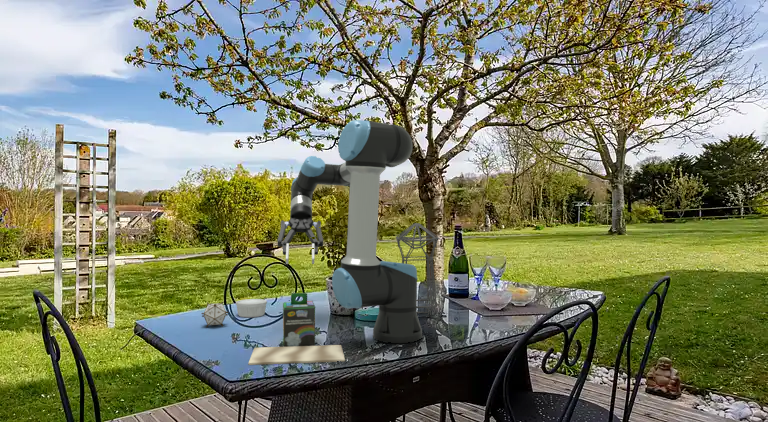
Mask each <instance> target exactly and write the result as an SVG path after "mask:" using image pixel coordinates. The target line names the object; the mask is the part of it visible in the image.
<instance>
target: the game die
mask: <svg viewBox="0 0 768 422" xmlns="http://www.w3.org/2000/svg"><path fill="white" fill-rule="evenodd" d="M206 304H207V305H206V308H205V310H204V312H201V317H202V318H203V317H204V319H205V323H206V326H205V327H206V328H208V327H209V326H221V327H224V325H223V322H224V320H225V318H226V316H227V317H228V315H229V311H227V310H226V309H225V307H224V301H222V302H221V303H209V301H207V302H206Z"/></svg>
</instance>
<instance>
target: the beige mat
mask: <svg viewBox="0 0 768 422" xmlns="http://www.w3.org/2000/svg"><path fill="white" fill-rule="evenodd" d="M248 360H249V361H248V366H254V365H255V366H257V365H259V366H260V365H281V364H283V365H284V364H306V363H307V364H309V363H311V364H313V363H333V362H335V363H338V362H337V361H341V362H345V361H346V359H345V355H344V351H343V346H342V345H341V344H333V345H332V344H330V345H329V344H327V345H326V344H325V345H323V344H322V345H315V346H291V347H284V346H271V347H270V346H263V347H254V348H253V350H252V353H251V355H250V358H249V359H248Z"/></svg>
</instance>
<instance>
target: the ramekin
mask: <svg viewBox="0 0 768 422" xmlns="http://www.w3.org/2000/svg"><path fill="white" fill-rule="evenodd" d="M267 303H268V301H267V300H266V299H262V298H249V299H247V298H246V299H241V300H240V299H239V300H237V301H236V302H235V305H236V311H237V315H238V316H239V317H240V318H257V317H262V316H264V315H265V314H266V309H267Z"/></svg>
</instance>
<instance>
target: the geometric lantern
mask: <svg viewBox="0 0 768 422" xmlns="http://www.w3.org/2000/svg"><path fill="white" fill-rule="evenodd" d="M413 229H414V231H413V235H412V237H411V236H410V237H408V236H407V235H408V234H409V233H410V231H412V230H413ZM421 230H423V232H425V233H426V234H427V235H423V236H422V234H421ZM416 233H418V237H416ZM423 238H425V239H423ZM395 239H396V242H397V247H398V249H399V252H400V254H401V263H404V264H408V261H426V277H427V278H426V280H427V281H426V284H427V286H426V288H427V290H426V291H427V292H426V296H427V297H426V299H425V298H424V299H423V298H422V299H421V298H420V299H417V302H426V303H425V305H421V306H419V305H417V309H423V311H417V314H426V313H428V314H427V316H428V315H429V314H430V315H431V316H432V311H433V310H434V309H435V308H436V307H437V306H438V304H437V291H436V281H435V280H436V279H435V269H434V254H435V248H437V244H438V241H439V240H440V239H441V237H439V236H438V235H436V234H435V233H434V232H432V231H430V229H428V228H427V227H425V226H424V225H423V224H421V223H417V222H414V223H413V224H411V225H409V227H407V228H406V229H404V230H403V231H402V232H400V233H399V234H397V235H396V236H395ZM400 241H402V242H403V243H405V244H406V245H408V247H410V248H409V250H408V252H407V253H406V256H405V255H404V252H403V248H402V247H401V243H400ZM415 242H419V244H418V243H417V244H415ZM425 242H426V243H425ZM424 243H425V244H424ZM430 243H433V246H432V249H431V253H430V256H429V255H428V253H427V251H425V249H424V247H425V246H427V245H429V244H430ZM415 246H416V247H415ZM415 249H416V250H417V249H421V250H422V251H423V253H424V255H425V256H423V255H422V256H421V255H420V256H411V254H412V253H413V251H414V250H415ZM409 258H410V259H409ZM411 258H413V259H411ZM414 258H416V259H414ZM417 258H419V259H417ZM420 258H423V259H420ZM428 302H430V304H429V305H428ZM424 311H425V312H424ZM427 311H428V312H427Z"/></svg>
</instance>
